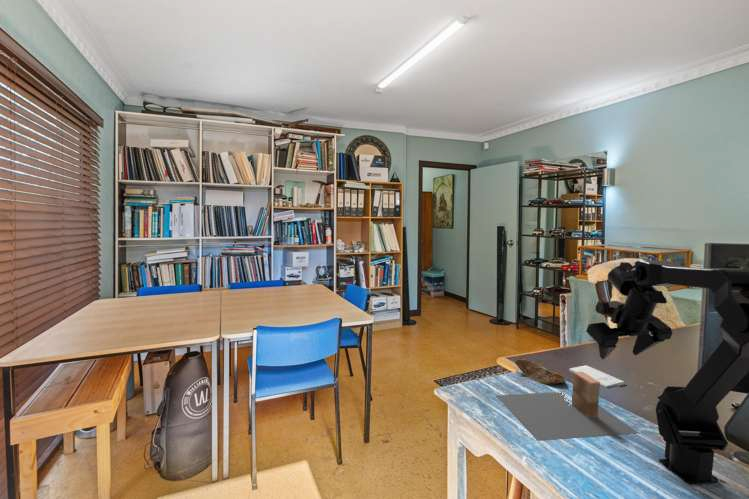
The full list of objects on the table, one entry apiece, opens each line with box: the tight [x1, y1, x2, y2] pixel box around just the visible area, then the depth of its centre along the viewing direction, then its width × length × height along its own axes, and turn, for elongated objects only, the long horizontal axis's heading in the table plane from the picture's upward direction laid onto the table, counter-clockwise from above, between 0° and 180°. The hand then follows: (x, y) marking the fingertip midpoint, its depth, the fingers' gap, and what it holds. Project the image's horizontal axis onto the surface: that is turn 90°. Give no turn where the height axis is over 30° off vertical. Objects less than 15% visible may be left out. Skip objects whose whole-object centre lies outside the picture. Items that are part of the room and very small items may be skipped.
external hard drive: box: [568, 364, 626, 388], centre depth 110 cm, size 2×8×12 cm
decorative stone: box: [514, 358, 567, 385], centre depth 110 cm, size 10×4×15 cm
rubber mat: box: [494, 391, 639, 442], centre depth 90 cm, size 20×25×1 cm
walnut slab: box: [572, 372, 601, 418], centre depth 90 cm, size 6×2×9 cm, turn 7°
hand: (618, 356), depth 92 cm, fingers open, 9 cm apart
